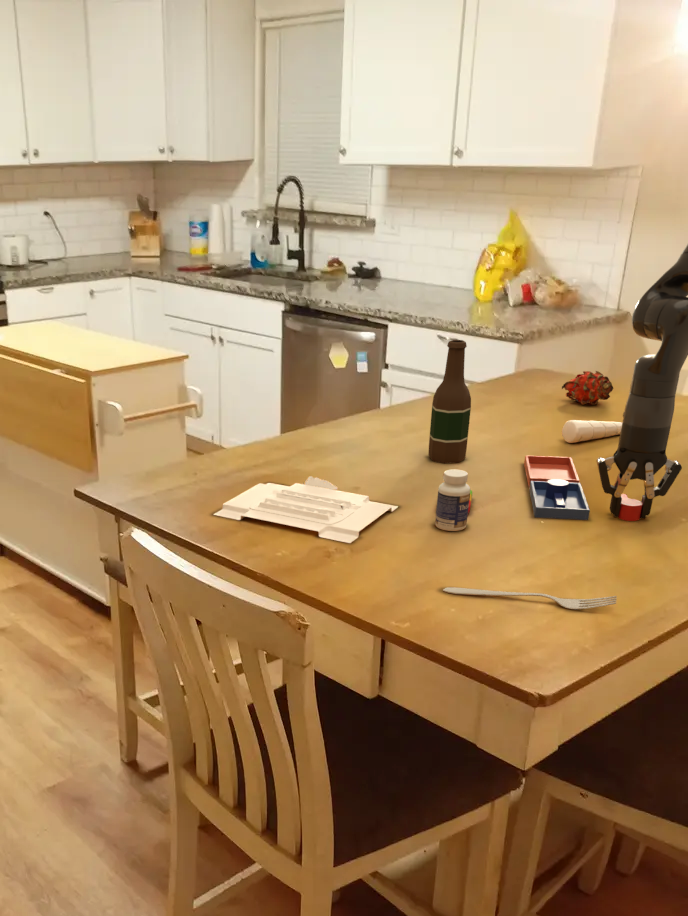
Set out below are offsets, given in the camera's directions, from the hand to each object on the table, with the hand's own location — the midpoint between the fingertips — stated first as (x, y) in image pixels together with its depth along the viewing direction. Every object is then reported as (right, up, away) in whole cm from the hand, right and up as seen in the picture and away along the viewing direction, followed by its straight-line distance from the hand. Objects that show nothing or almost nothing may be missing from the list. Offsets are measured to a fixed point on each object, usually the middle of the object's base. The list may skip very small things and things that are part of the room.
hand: (628, 515), depth 167 cm
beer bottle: (-24, +16, +32) cm, 44 cm away
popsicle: (-28, +4, +10) cm, 30 cm away
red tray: (-7, +10, +20) cm, 24 cm away
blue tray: (-10, +3, +7) cm, 12 cm away
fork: (-27, -16, -27) cm, 42 cm away
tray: (-56, +2, +8) cm, 57 cm away
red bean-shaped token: (+1, +1, +3) cm, 3 cm away
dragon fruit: (+19, +37, +67) cm, 79 cm away
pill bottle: (-32, -2, -1) cm, 32 cm away
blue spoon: (-10, +3, +6) cm, 13 cm away
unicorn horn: (+14, +23, +43) cm, 51 cm away
